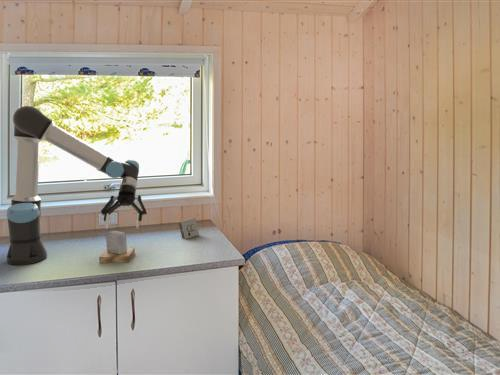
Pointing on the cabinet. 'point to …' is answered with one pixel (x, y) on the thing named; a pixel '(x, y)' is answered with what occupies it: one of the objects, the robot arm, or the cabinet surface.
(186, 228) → the electrical switch
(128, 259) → the plinth
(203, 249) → the cabinet surface
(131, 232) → the cabinet surface
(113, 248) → the grey curved block
